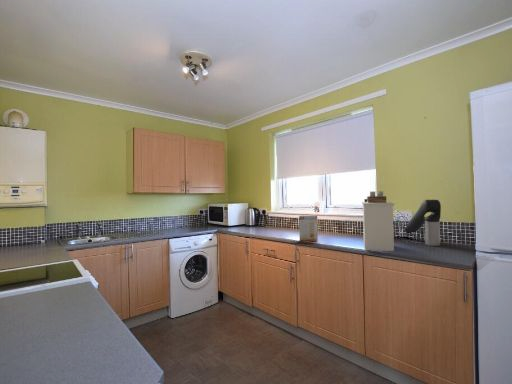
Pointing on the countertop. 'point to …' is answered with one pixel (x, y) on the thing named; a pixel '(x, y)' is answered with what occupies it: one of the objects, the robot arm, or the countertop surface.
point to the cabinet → (378, 226)
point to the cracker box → (308, 228)
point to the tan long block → (376, 198)
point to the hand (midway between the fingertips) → (374, 197)
